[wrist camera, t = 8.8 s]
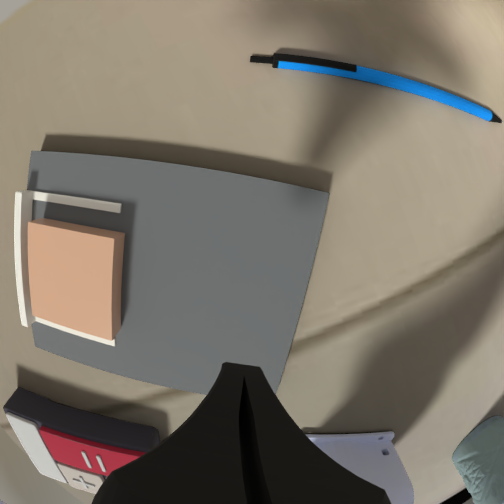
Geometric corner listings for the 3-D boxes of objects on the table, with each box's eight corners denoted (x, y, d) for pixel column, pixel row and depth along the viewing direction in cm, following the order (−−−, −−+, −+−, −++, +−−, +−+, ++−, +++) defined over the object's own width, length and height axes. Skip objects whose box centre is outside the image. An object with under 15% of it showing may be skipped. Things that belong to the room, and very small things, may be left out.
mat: (324, 191, 16) (335, 194, 14) (271, 394, 20) (274, 415, 18) (40, 151, 15) (20, 150, 13) (41, 340, 18) (27, 353, 16)
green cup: (433, 468, 25) (467, 533, 13) (481, 411, 22) (532, 476, 11) (476, 458, 26) (509, 509, 14) (517, 405, 23) (561, 455, 12)
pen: (250, 55, 15) (251, 47, 13) (498, 117, 15) (507, 115, 14) (249, 68, 15) (250, 61, 14) (498, 127, 15) (508, 126, 14)
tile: (114, 238, 14) (27, 221, 14) (111, 340, 15) (32, 315, 15) (125, 232, 16) (43, 217, 15) (121, 327, 17) (45, 305, 17)
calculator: (165, 512, 20) (37, 476, 19) (169, 481, 24) (48, 452, 23) (151, 457, 17) (-3, 410, 16) (159, 419, 22) (17, 384, 20)
